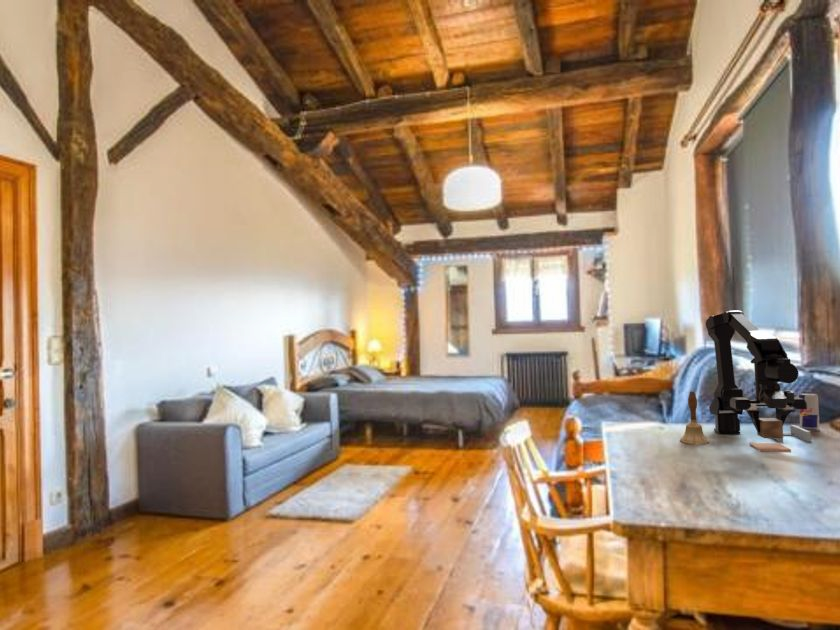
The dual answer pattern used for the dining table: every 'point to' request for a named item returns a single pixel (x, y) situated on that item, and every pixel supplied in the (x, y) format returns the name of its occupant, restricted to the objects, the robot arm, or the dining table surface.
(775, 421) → the walnut block
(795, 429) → the channel
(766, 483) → the dining table surface
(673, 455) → the dining table surface
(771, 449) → the coaster
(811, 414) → the energy drink
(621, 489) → the dining table surface
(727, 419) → the robot arm
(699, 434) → the hand bell
